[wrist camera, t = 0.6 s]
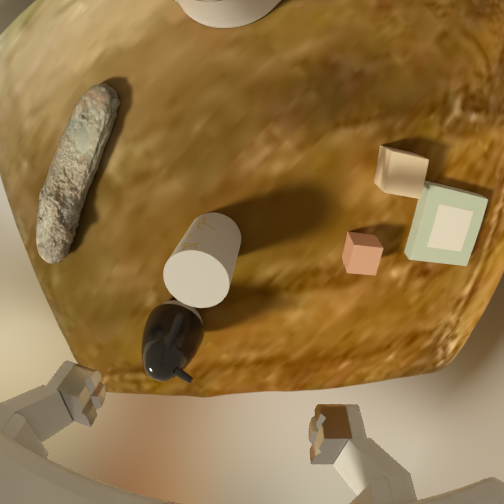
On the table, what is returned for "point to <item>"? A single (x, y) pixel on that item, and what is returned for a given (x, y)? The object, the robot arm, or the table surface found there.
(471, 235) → the sage base
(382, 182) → the beech block
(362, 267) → the terracotta block
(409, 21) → the table surface
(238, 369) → the table surface
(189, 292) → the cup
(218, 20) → the robot arm
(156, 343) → the pump dispenser
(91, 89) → the elongated rock
